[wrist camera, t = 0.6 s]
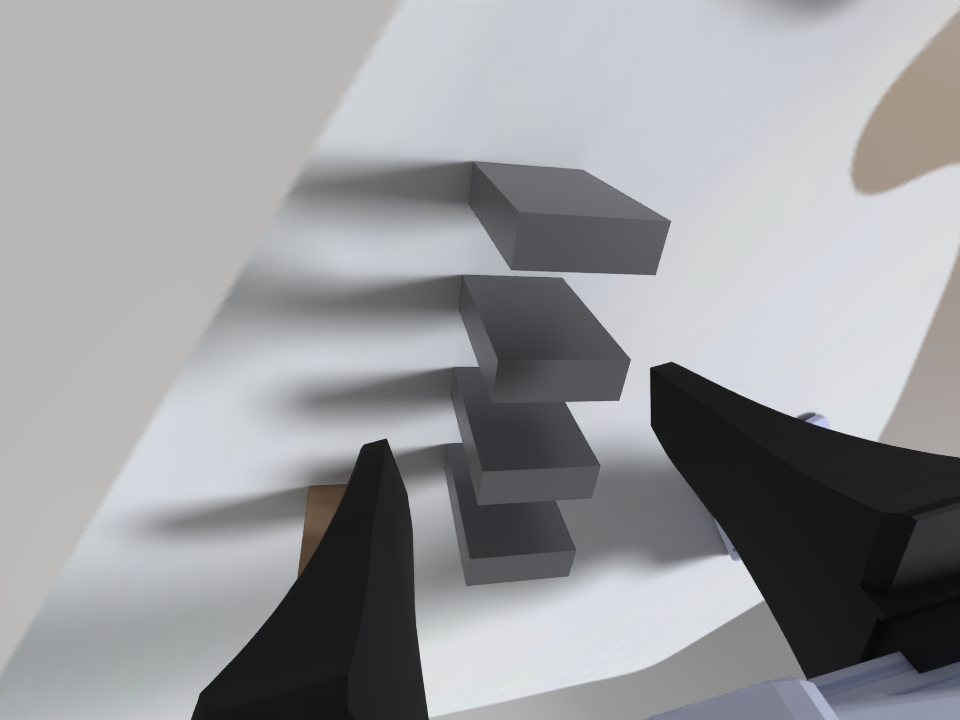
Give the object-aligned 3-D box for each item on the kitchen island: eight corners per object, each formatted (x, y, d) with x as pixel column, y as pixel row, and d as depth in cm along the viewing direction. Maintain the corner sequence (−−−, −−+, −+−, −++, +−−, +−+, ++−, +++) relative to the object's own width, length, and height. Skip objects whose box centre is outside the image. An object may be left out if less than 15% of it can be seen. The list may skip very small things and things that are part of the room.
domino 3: (555, 311, 24) (619, 400, 18) (459, 309, 23) (491, 402, 17) (562, 277, 23) (630, 359, 17) (462, 274, 22) (498, 359, 16)
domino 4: (539, 394, 26) (591, 497, 20) (451, 395, 25) (477, 505, 19) (545, 366, 25) (600, 465, 19) (453, 367, 24) (482, 471, 18)
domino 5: (526, 464, 28) (568, 576, 22) (444, 467, 27) (466, 586, 21) (530, 440, 27) (575, 550, 21) (446, 443, 26) (469, 559, 20)
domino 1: (397, 504, 28) (406, 628, 22) (310, 509, 27) (295, 639, 21) (398, 481, 27) (407, 603, 21) (308, 486, 26) (292, 615, 20)
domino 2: (575, 211, 21) (655, 275, 15) (469, 204, 20) (511, 270, 15) (583, 170, 21) (671, 221, 15) (473, 161, 20) (519, 212, 14)
